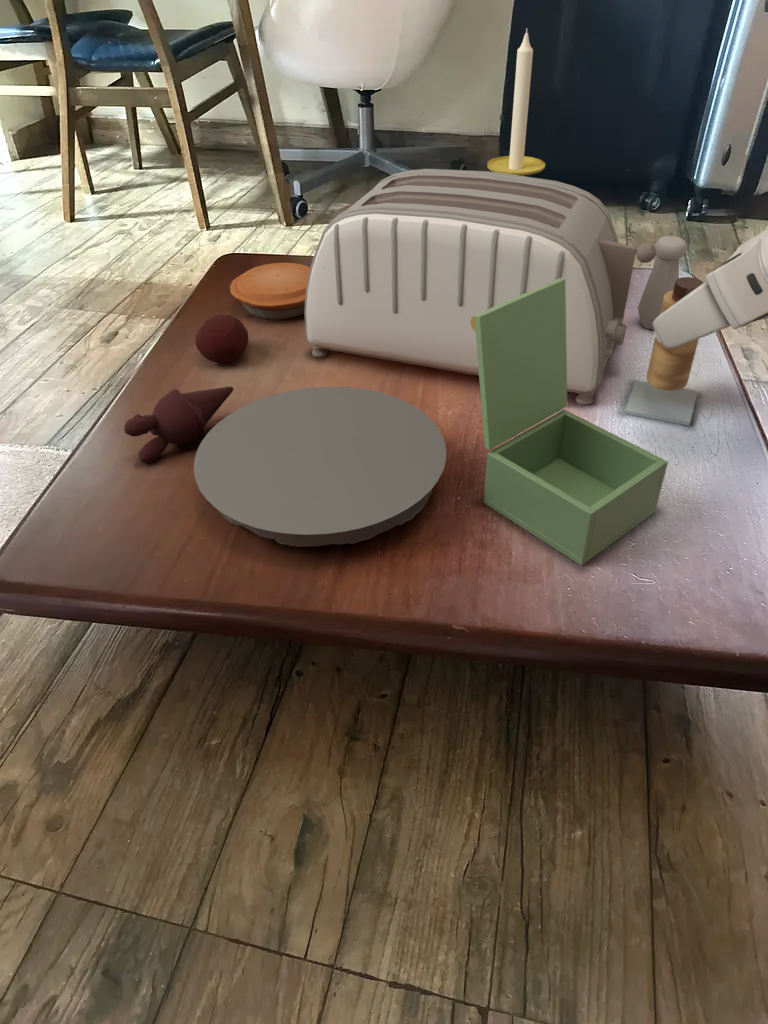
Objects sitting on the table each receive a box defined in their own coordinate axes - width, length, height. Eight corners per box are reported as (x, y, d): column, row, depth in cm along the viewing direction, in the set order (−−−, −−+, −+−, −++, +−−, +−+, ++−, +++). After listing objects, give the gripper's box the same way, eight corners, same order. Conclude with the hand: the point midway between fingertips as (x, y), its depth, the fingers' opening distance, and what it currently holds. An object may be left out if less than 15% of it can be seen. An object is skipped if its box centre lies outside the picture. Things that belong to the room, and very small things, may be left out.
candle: (514, 278, 133) (537, 20, 109) (548, 300, 126) (580, 29, 102) (463, 290, 129) (475, 26, 105) (495, 313, 122) (515, 37, 98)
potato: (189, 368, 111) (181, 329, 108) (216, 339, 118) (209, 302, 114) (237, 374, 110) (231, 335, 106) (262, 344, 116) (257, 306, 113)
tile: (696, 394, 103) (697, 390, 102) (689, 426, 97) (690, 422, 97) (634, 383, 105) (635, 379, 105) (623, 413, 100) (624, 409, 99)
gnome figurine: (207, 359, 100) (105, 415, 93) (238, 365, 95) (133, 425, 88) (227, 407, 104) (131, 464, 96) (258, 415, 98) (159, 477, 91)
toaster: (618, 417, 99) (653, 242, 84) (301, 360, 112) (284, 200, 98) (641, 342, 114) (674, 183, 100) (359, 299, 127) (353, 154, 113)
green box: (655, 512, 84) (668, 461, 80) (581, 566, 78) (591, 514, 74) (557, 457, 93) (564, 409, 88) (483, 503, 86) (486, 452, 82)
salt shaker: (676, 318, 120) (695, 233, 111) (673, 334, 116) (693, 248, 107) (636, 313, 121) (652, 230, 113) (633, 329, 117) (649, 244, 109)
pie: (251, 282, 134) (247, 254, 131) (338, 287, 131) (336, 258, 128) (219, 322, 122) (213, 292, 119) (314, 329, 120) (311, 298, 117)
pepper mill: (689, 374, 100) (714, 277, 92) (684, 393, 96) (710, 294, 88) (649, 367, 102) (670, 271, 93) (643, 386, 98) (664, 287, 90)
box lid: (565, 278, 80) (529, 273, 83) (479, 316, 74) (444, 308, 77) (567, 406, 88) (534, 396, 91) (489, 450, 81) (457, 438, 85)
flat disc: (457, 425, 98) (458, 394, 96) (429, 580, 77) (429, 547, 74) (244, 409, 102) (239, 379, 100) (162, 553, 81) (153, 520, 79)
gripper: (809, 221, 88) (710, 279, 100) (707, 273, 78) (611, 330, 90) (835, 271, 88) (732, 323, 100) (737, 329, 78) (636, 379, 90)
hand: (674, 327), depth 95 cm, fingers closed on pepper mill, 5 cm apart
